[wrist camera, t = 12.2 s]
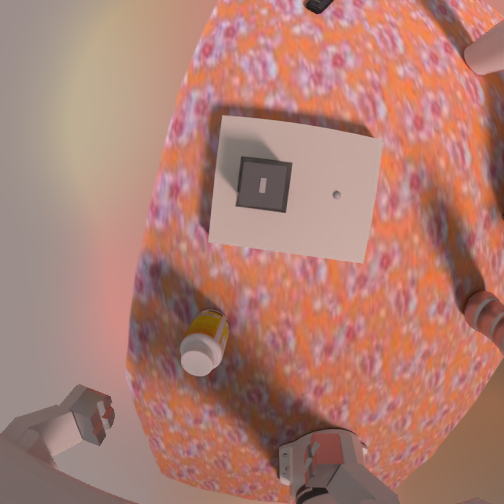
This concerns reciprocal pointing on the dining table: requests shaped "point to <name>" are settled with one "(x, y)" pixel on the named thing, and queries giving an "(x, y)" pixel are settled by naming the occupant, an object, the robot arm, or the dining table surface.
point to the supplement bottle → (204, 342)
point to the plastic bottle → (486, 316)
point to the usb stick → (318, 5)
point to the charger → (262, 185)
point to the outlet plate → (297, 189)
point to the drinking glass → (487, 52)
